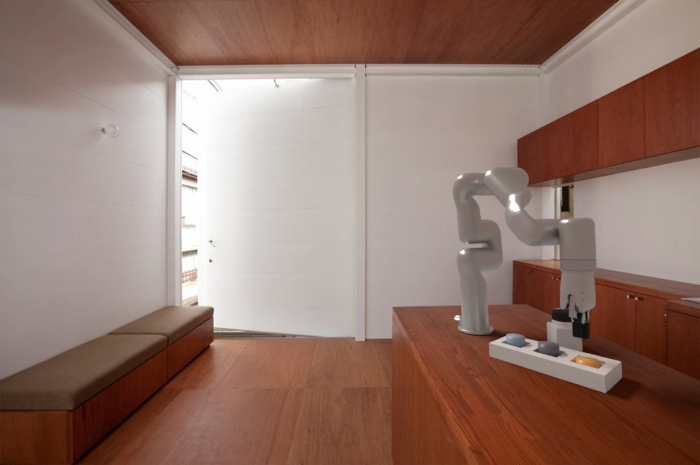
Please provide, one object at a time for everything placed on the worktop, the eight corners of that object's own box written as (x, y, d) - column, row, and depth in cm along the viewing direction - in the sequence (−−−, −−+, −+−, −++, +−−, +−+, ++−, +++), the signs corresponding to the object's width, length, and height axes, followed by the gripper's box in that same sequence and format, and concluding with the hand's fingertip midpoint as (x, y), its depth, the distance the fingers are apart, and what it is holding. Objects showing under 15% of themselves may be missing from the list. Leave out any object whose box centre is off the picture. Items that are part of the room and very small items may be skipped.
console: (489, 356, 92) (488, 343, 93) (510, 346, 99) (509, 334, 99) (605, 393, 69) (604, 375, 69) (622, 377, 76) (621, 361, 76)
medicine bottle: (583, 351, 93) (581, 312, 93) (557, 351, 94) (555, 312, 94) (571, 343, 100) (569, 307, 100) (547, 343, 101) (545, 306, 101)
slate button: (503, 347, 92) (502, 335, 92) (511, 343, 95) (511, 332, 95) (520, 352, 88) (519, 340, 88) (528, 348, 91) (528, 336, 91)
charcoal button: (535, 356, 85) (534, 343, 85) (543, 351, 88) (542, 339, 88) (555, 362, 81) (554, 348, 81) (563, 357, 84) (562, 344, 84)
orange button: (573, 373, 78) (572, 359, 78) (580, 367, 80) (580, 354, 80) (597, 380, 74) (596, 366, 74) (604, 374, 76) (603, 360, 76)
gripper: (572, 262, 86) (575, 328, 85) (548, 267, 77) (552, 340, 77) (606, 264, 79) (609, 334, 79) (584, 269, 71) (588, 348, 71)
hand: (581, 337), depth 78 cm, fingers closed
